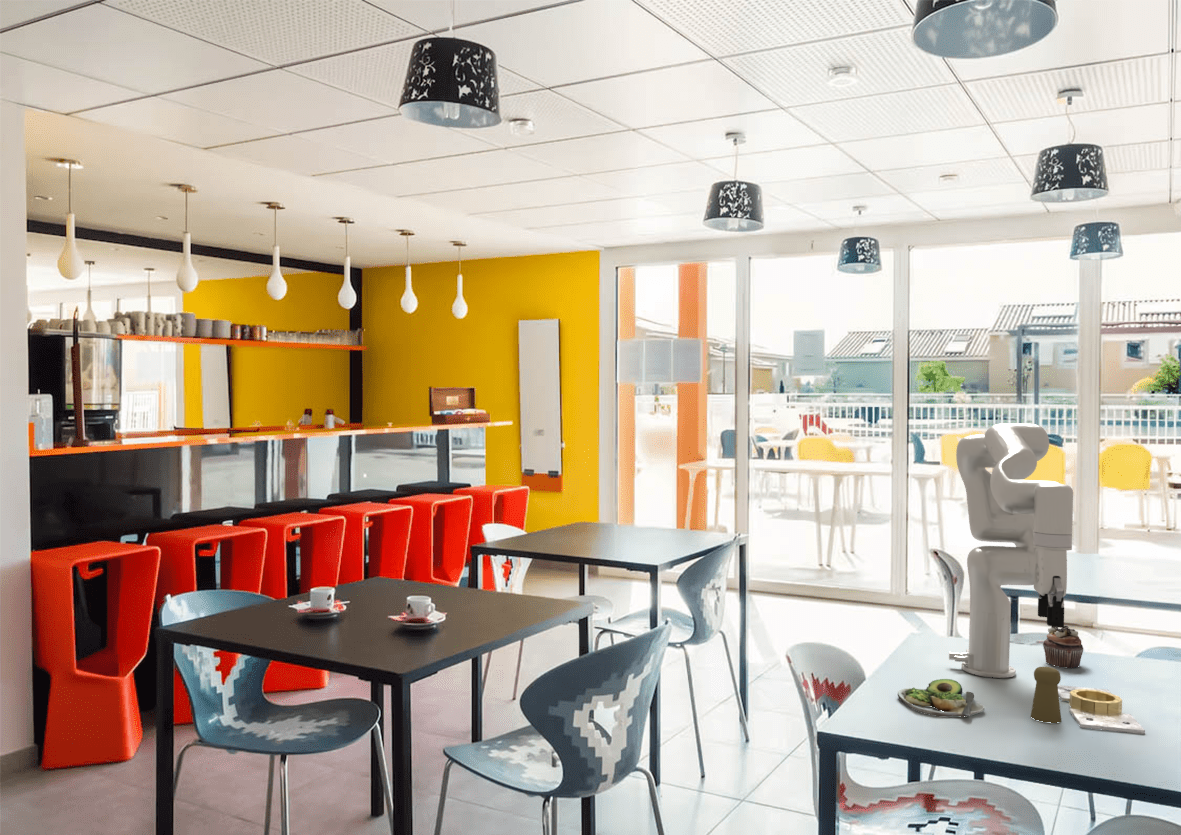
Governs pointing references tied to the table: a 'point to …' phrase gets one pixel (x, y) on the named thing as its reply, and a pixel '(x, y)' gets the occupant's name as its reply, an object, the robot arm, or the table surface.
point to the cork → (1046, 695)
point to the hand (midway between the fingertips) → (1050, 621)
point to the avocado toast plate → (942, 699)
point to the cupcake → (1063, 647)
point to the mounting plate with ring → (1098, 709)
